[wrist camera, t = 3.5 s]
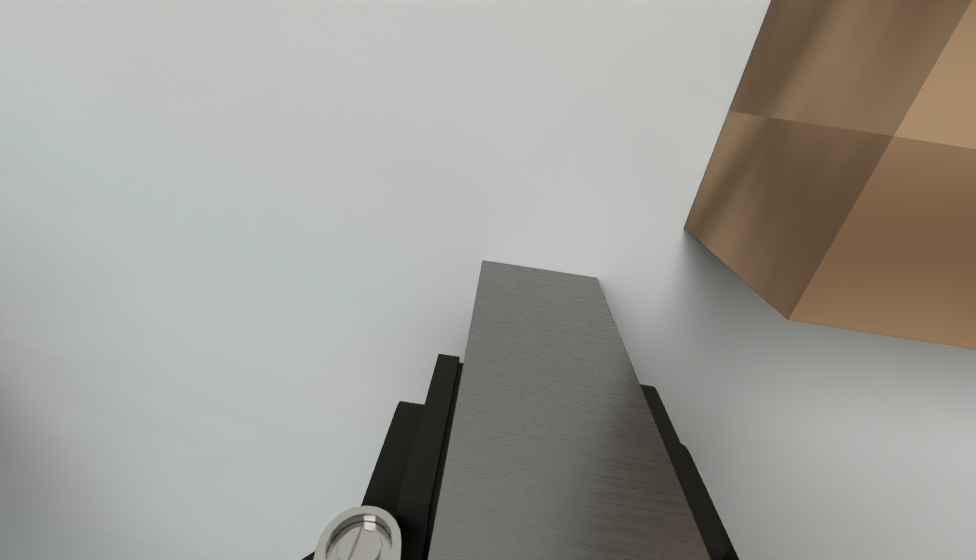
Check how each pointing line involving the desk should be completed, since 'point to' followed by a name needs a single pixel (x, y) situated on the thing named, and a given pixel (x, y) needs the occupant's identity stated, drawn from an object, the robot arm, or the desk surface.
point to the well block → (853, 168)
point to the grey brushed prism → (555, 435)
